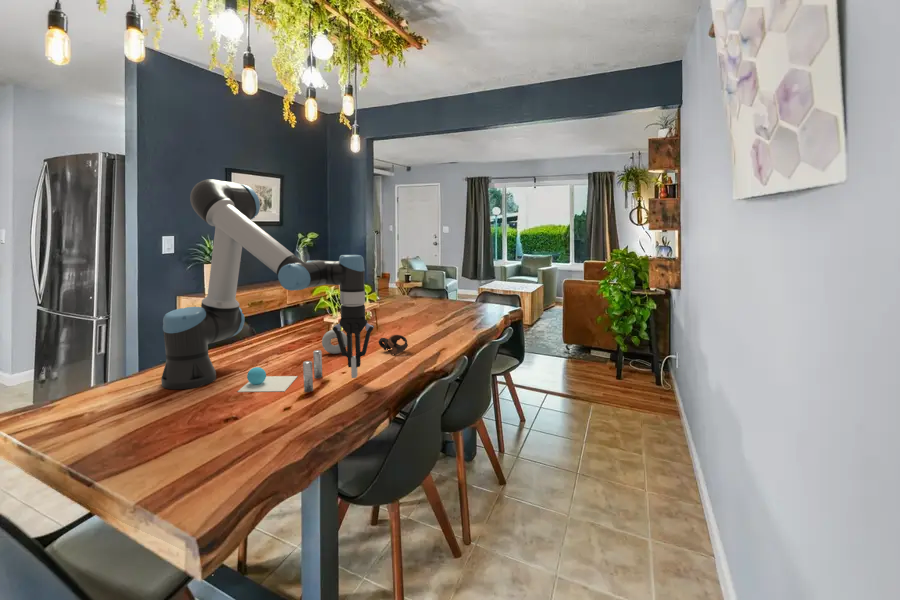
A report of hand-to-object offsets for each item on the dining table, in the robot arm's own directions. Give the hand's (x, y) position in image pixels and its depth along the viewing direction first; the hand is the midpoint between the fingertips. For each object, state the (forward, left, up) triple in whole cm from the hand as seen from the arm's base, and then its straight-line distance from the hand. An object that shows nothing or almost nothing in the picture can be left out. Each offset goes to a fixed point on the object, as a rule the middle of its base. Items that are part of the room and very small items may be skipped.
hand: (354, 376), depth 141 cm
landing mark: (-27, 0, -2) cm, 27 cm away
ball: (-31, 0, 0) cm, 31 cm away
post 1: (-13, -6, -2) cm, 15 cm away
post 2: (-13, +6, -2) cm, 15 cm away
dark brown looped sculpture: (+10, +37, -3) cm, 38 cm away
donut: (-13, +35, -2) cm, 37 cm away
